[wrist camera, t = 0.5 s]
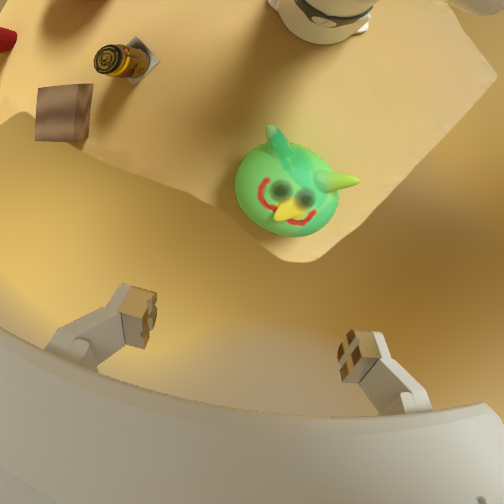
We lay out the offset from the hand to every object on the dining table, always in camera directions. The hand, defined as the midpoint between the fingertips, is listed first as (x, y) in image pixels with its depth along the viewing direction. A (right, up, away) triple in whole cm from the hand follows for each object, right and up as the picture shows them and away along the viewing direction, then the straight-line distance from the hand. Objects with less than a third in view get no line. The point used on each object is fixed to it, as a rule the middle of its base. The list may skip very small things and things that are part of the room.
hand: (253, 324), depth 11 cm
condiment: (-23, +40, +31) cm, 55 cm away
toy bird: (+6, +17, +42) cm, 46 cm away
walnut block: (-40, +34, +35) cm, 63 cm away
